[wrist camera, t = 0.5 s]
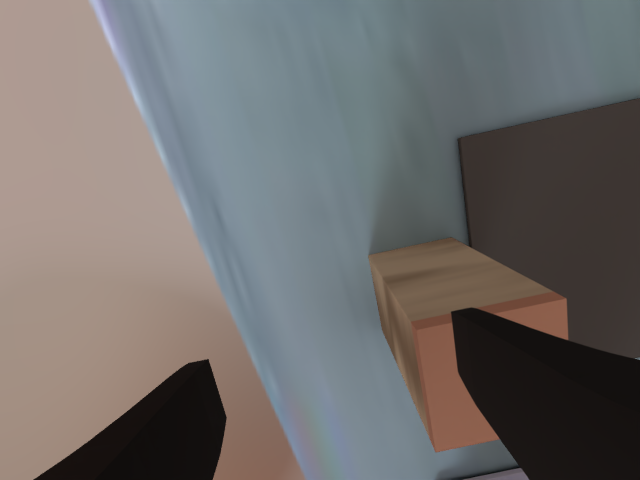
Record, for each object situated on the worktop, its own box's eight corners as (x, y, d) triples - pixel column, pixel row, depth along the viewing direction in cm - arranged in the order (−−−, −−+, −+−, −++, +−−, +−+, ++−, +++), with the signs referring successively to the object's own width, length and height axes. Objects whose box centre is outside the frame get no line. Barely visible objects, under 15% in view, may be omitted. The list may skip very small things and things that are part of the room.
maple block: (460, 313, 21) (571, 424, 12) (382, 330, 21) (435, 452, 12) (451, 237, 20) (566, 298, 11) (368, 255, 20) (416, 330, 11)
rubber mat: (650, 351, 22) (655, 354, 22) (485, 385, 22) (487, 388, 22) (656, 94, 18) (662, 93, 18) (457, 138, 18) (460, 137, 18)
